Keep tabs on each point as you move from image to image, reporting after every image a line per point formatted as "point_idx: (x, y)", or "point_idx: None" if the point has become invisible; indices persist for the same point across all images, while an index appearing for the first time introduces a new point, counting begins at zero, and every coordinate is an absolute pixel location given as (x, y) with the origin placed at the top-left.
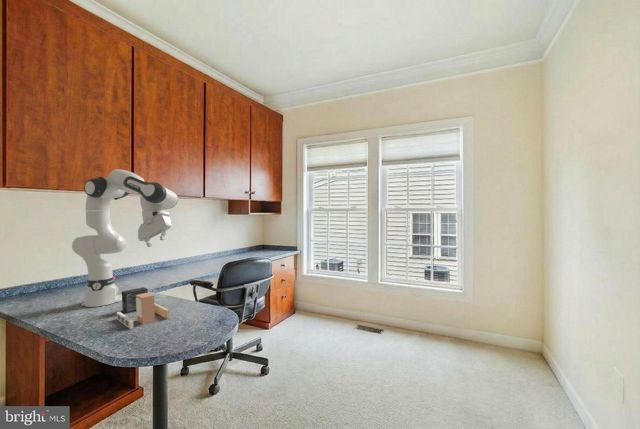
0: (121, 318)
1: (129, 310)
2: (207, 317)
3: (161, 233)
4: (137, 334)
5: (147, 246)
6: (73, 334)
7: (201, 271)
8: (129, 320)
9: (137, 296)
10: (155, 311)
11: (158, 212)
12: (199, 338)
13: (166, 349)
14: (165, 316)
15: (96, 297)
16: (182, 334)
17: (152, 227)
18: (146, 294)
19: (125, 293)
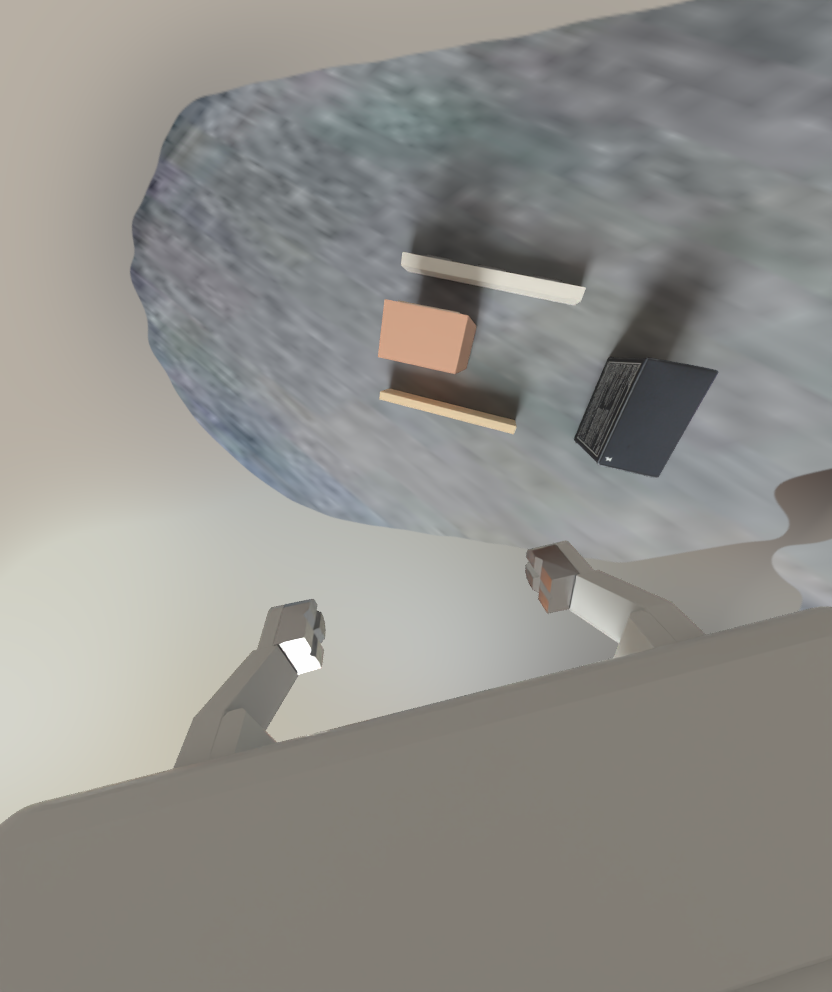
0: (503, 270)
1: (605, 369)
2: (300, 447)
3: (236, 686)
4: (342, 247)
5: (563, 541)
6: (586, 59)
7: None
8: (420, 259)
9: (446, 311)
10: (489, 414)
11: None
12: (186, 330)
13: (178, 233)
14: (401, 392)
15: None
16: (239, 325)
17: (435, 968)
18: (426, 349)
19: (647, 358)
